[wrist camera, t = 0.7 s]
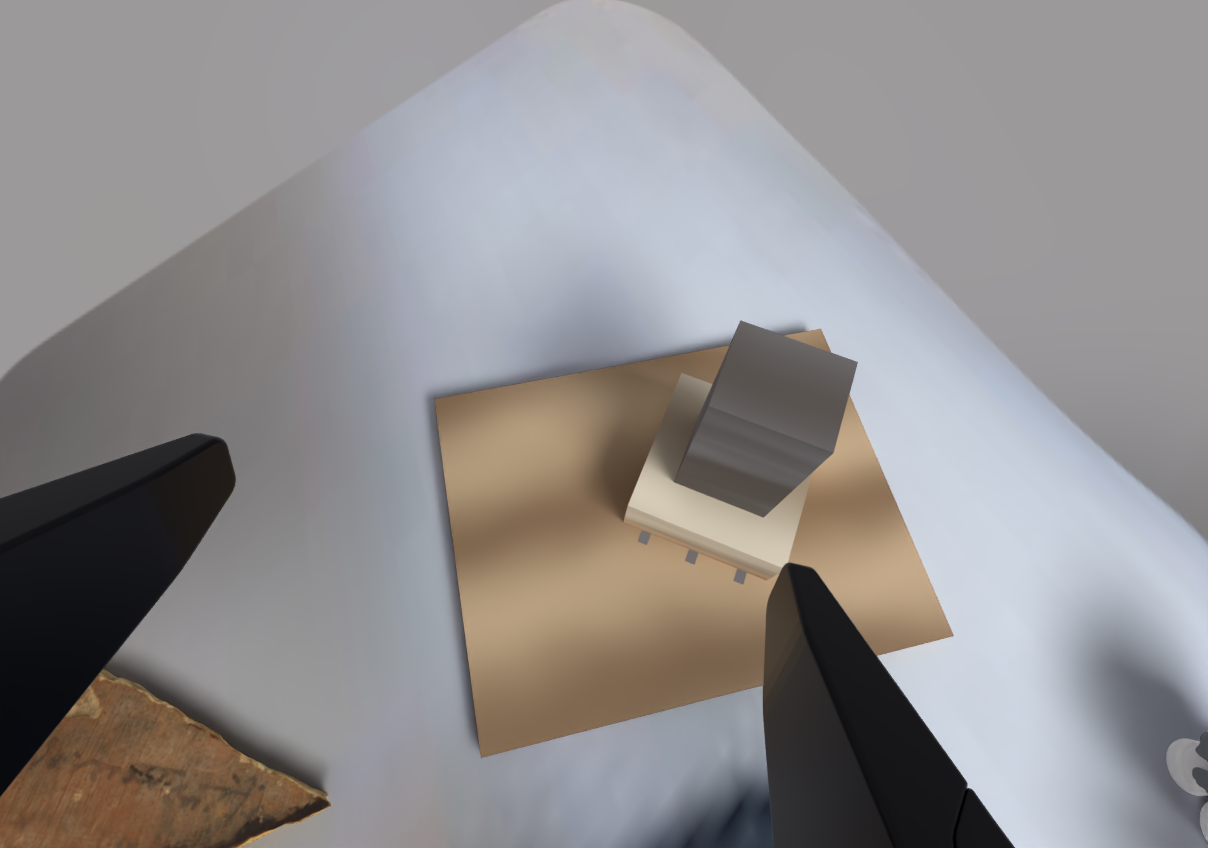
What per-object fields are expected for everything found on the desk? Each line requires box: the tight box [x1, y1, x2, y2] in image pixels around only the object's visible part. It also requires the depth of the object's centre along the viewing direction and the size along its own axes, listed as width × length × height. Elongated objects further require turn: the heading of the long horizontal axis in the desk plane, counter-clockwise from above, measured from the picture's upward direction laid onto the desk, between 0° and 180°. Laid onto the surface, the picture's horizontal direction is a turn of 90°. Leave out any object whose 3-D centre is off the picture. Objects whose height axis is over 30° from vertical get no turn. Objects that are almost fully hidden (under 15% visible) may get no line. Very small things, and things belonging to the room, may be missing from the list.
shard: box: [0, 669, 331, 848], centre depth 20 cm, size 11×8×2 cm
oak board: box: [434, 329, 954, 758], centre depth 25 cm, size 14×18×1 cm
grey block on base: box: [624, 321, 858, 581], centre depth 21 cm, size 6×6×9 cm
